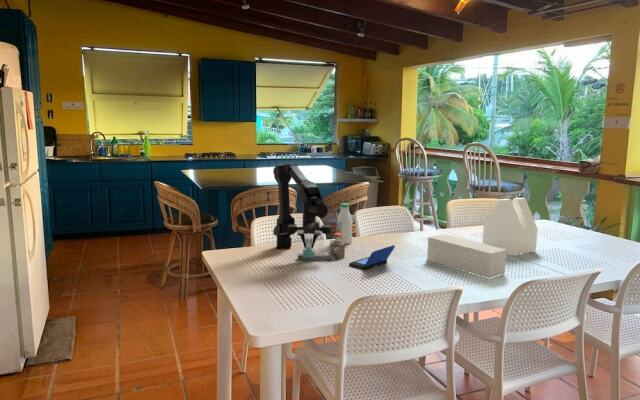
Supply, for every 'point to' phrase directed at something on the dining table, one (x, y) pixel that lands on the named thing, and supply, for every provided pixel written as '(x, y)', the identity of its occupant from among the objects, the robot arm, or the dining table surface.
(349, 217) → the milk bottle
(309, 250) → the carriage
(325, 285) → the dining table surface
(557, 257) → the dining table surface
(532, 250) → the beige tapered block
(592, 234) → the dining table surface
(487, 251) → the beige long block
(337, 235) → the plunger
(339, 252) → the cabinet
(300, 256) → the rail
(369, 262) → the handheld game console
